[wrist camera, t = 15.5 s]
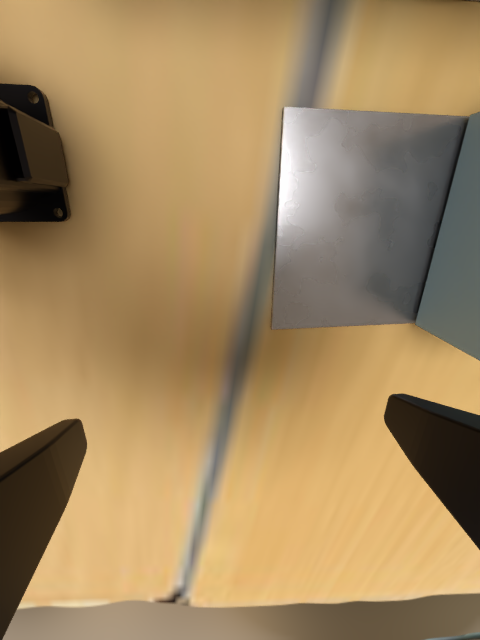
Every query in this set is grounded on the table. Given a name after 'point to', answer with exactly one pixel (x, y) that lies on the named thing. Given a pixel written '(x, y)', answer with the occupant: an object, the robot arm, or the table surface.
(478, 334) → the pale blue box
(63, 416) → the table surface
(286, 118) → the dark grey case
